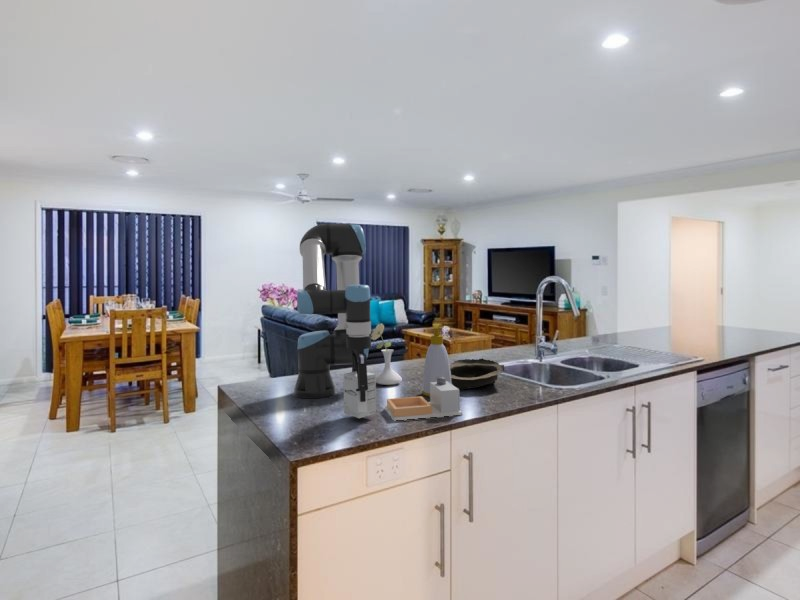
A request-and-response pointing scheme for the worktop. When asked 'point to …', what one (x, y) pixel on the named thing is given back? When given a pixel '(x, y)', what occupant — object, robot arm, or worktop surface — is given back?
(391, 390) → the worktop surface
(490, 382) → the stone bowl
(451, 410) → the tan white boxy piece
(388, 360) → the flower in vase
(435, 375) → the soap bottle
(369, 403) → the supplement box
